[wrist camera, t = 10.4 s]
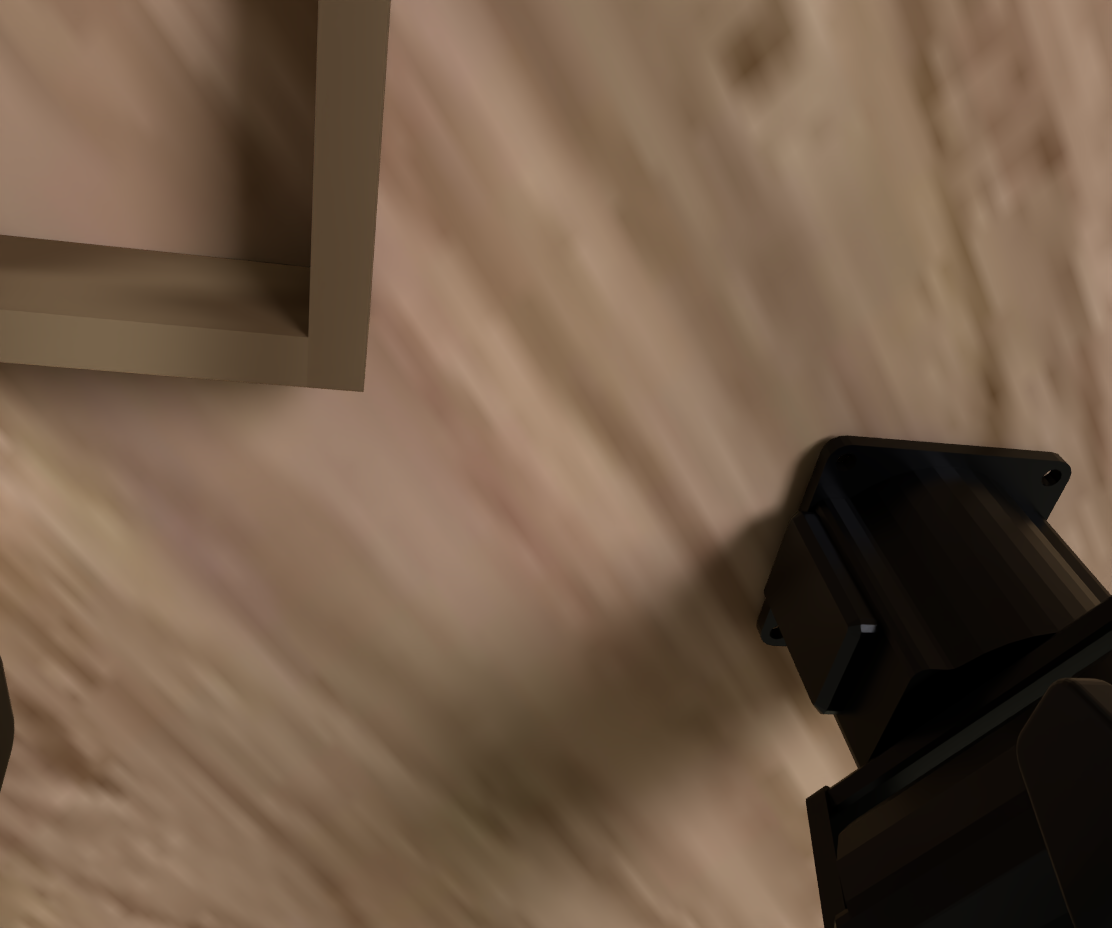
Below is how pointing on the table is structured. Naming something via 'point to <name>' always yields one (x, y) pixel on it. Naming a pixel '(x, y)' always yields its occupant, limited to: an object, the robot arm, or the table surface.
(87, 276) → the wooden frame
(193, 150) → the table surface
